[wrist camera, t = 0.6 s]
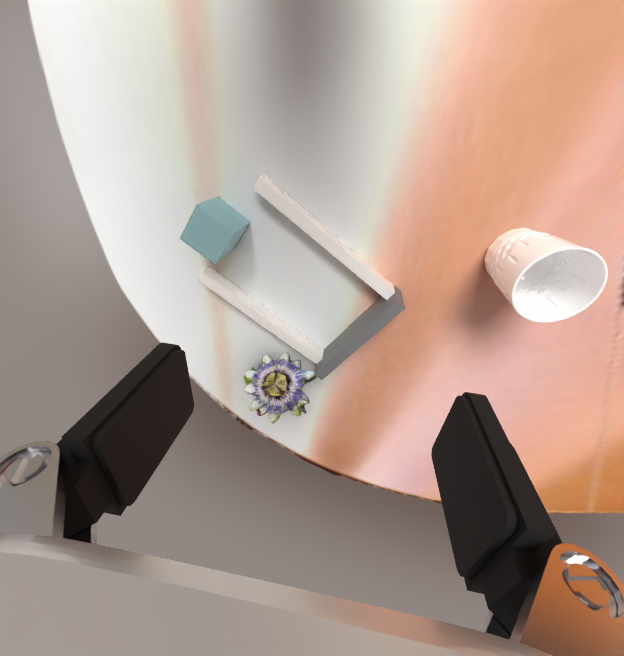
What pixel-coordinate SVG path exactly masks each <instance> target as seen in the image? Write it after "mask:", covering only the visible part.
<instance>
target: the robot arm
mask: <svg viewBox="0 0 624 656" xmlns="http://www.w3.org/2000/svg"><path fill="white" fill-rule="evenodd" d="M193 408H194V402H193V396H192V390H191V385H190V379H189V373H188V367H187V362H186V356H185V352H184V351H183V350H181V348H180V346H178V345H174V344H168V343H160V344H159V345H158V346H156V348H154V349H153V350H152V351H151V352H150V353H149V354H148V355H147V356H146V357H145V358H144V359H143V360H142V361H141V362H140V363H139V364H138V365H137V366H136V367H135V368H133V370H131V371H130V372H129V373H128V374H127V375H126V376H125V377H124V378H123V379H122V380H121V381H120V382H119V383H118V384H117V385H116V386H115V387H114V388H113V389H111V390H110V391H109V392H108V393H107V394H106V395H105V396H104V397H103V398H102V399H101V400H100V401H99V402H98V403H97V404H96V405H95V406H94V407H93V408H91V409H90V411H88V412H87V413H86V414H85V415H84V416H83V417H82V418H81V419H80V420H79V421H78V422H77V423H76V424H75V425H74V426H73V427H72V428H71V429H70V430H68V431H67V433H65V434H64V435H63V436H62V439H61V440H60V441H59V442H58V443H57V444H55V443H53V442H50V441H36V442H31V443H27V444H24V445H22V446H19V447H17V448H15V449H13V450H11V451H10V452H8V453H6V454H4V455H3V456H2V457H1V458H0V656H624V586H623V584H622V583H621V581H620V580H619V578H618V577H617V576H616V575H615V574H614V573H613V572H612V571H611V569H610V568H609V567H608V566H607V565H605V564H604V563H603V562H602V561H601V560H600V559H598V558H597V557H596V556H594V555H593V554H591V553H590V552H588V551H586V550H584V549H583V548H580V547H578V546H575V545H573V544H565V543H562V541H561V539H560V537H559V535H558V533H557V531H556V529H555V527H554V525H553V523H552V521H551V519H550V518H549V515H548V513H547V512H546V510H545V508H544V506H543V504H542V502H541V500H540V498H539V496H538V494H537V492H536V490H535V488H534V486H533V484H532V482H531V480H530V478H529V476H528V474H527V472H526V470H525V468H524V466H523V464H522V462H521V460H520V458H519V456H518V454H517V452H516V451H515V449H514V447H513V446H512V444H510V442H509V440H508V438H507V436H506V434H505V432H504V430H503V428H502V426H501V424H500V423H499V421H498V419H497V417H496V415H495V413H494V411H493V409H492V407H491V405H490V403H489V401H488V399H487V397H486V396H485V395H481V394H474V393H468V392H465V393H463V395H462V396H457V397H456V399H455V401H454V403H453V405H452V407H451V410H450V412H449V414H448V416H447V418H446V420H445V422H444V424H443V426H442V428H441V430H440V433H439V435H438V437H437V439H436V441H435V443H434V445H433V448H432V460H433V465H434V469H435V474H436V478H437V483H438V487H439V492H440V496H441V500H442V505H443V509H444V514H445V518H446V523H447V527H448V532H449V535H450V540H451V545H452V549H453V553H454V558H455V563H456V567H457V570H458V573H459V574H460V576H463V577H464V578H465V583H466V587H467V590H468V591H473V592H477V593H482V594H484V595H485V599H486V602H487V606H488V609H489V612H488V614H487V616H486V618H485V621H484V623H483V625H482V627H481V630H480V631H477V630H473V629H469V628H465V627H461V626H457V625H453V624H449V623H444V622H441V621H437V620H432V619H428V618H425V617H420V616H416V615H412V614H407V613H403V612H398V611H394V610H390V609H386V608H381V607H377V606H372V605H368V604H364V603H359V602H355V601H351V600H346V599H341V598H337V597H333V596H329V595H324V594H320V593H316V592H311V591H307V590H302V589H298V588H293V587H289V586H284V585H280V584H276V583H271V582H267V581H262V580H258V579H253V578H249V577H244V576H240V575H235V574H231V573H226V572H221V571H217V570H213V569H208V568H203V567H199V566H195V565H190V564H185V563H181V562H176V561H172V560H167V559H163V558H158V557H154V556H149V555H144V554H140V553H135V552H131V551H126V550H122V549H116V548H111V547H106V546H101V545H97V521H98V520H99V519H100V517H101V516H102V514H103V513H104V512H105V513H109V514H114V515H119V516H121V514H122V513H123V511H124V510H125V508H126V506H130V505H132V504H133V503H134V502H135V500H136V499H137V497H138V496H139V494H140V492H141V491H142V490H143V488H144V486H145V485H146V483H147V482H148V480H149V479H150V477H151V476H152V474H153V472H154V471H155V469H156V468H157V466H158V465H159V463H160V462H161V460H162V459H163V457H164V456H165V454H166V453H167V451H168V450H169V448H170V446H171V445H172V443H173V442H174V440H175V439H176V437H177V436H178V434H179V433H180V431H181V429H182V428H183V426H184V425H185V423H186V422H187V420H188V419H189V417H190V416H191V414H192V412H193Z"/></svg>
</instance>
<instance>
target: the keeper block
mask: <svg viewBox="0 0 624 656" xmlns="http://www.w3.org/2000/svg"><path fill="white" fill-rule="evenodd" d="M249 223H250V221H248V220H247V219H246V218H245V217H243V216H242V215H241V214H240V213H238V212H237V211H236V210H235V209H233V208H232V207H231V206H230V205H228V204H227V203H226V202H225V201H223V200H222V199H221V198H220V197H216V198H213V199H210V200H208V201H205V202H202V203H200V204H197V205H196V207H195V209H194V211H193V213H192V215H191V217H190V219H189V221H188V223H187V225H186V227H185V229H184V231H183V233H182V235H181V237H180V239H181V240H182V241H184V242H185V243H186V244H188V245H189V246H190V247H192V248H193V249H195V250H196V251H197V252H199V253H200V254H201V255H203V256H204V257H205V258H207V259H208V260H210V261H211V262H212V263H214V264H216V263H218V262H219V261H220V260H221V259H222V258H224V257H225V256H226V255H227V254H228V253H230V252H231V251H232V250H233V249H234V247H235V246H236V244H237V242H238V241H239V239H240V238H241V236H242V234H243V233H244V231H245V230H246V228H247V226H248V225H249Z"/></svg>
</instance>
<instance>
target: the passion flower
mask: <svg viewBox="0 0 624 656" xmlns="http://www.w3.org/2000/svg"><path fill="white" fill-rule="evenodd" d="M259 365H260V364H259ZM259 367H260V368H259V369H258V370H257V371H255V370H254V368H253V367H252V369H251V370H248V371H246V372H245V376H244V380H245V383H246V384H247V385H246V386H245V387H244V390H245V392H247V393H248V394H252V395H255V396H256V399H255V400H254V401H253V403H252V404H251V405H250V406H249V410H250V411H252V410H256V411H257V415H259V416H261V412H260V410H259V409H260V408H262V407H264V406H265V405H266V407H268V409H267V411H266V412H265V413H267V412H269V419H270V421H271V422H272V423H274V422H276V421H277V420H278V418H279V417H280V415H281V414H282V413H284V412H286V411H288V410H290V411H291V410H292V411H291V412H292V413H293V414H294V415H296V416H300V415H301V412H302V411H303V412H304V413H305V414H306V410H305V408H304V406H305V404H307V403H309V399H308V397H307V396H306V395H305V394H304V393H303V392H302V391H301V389H302V387H303V385H304V384H305V383H307V382H311V381H312V380H314V379H315V378H316V376H315V375H314V373H315V372H314V371H305V372H303V371H302V370H300V367H301V362H300V360H296V361H295V362H292V361H291V360H290V355H289V353H288V352H286V353H283V354H282V355H281V357H280V358H279V360H276V361H273V360H272V358H271V357H270V356H268V355H265V356H264V357H263V359H262V366H261V365H260V366H259ZM294 406H297V410H296V411H295V410H293V408H294ZM266 407H265V408H266ZM300 408H301V409H300ZM265 413H264V414H265ZM264 414H262V415H264Z"/></svg>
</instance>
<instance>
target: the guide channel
mask: <svg viewBox="0 0 624 656" xmlns="http://www.w3.org/2000/svg"><path fill="white" fill-rule="evenodd" d="M252 188H253V189H254V190H255V191H256V192H257V193H259V194H260V195H261V196H262V197H263V198H265V199H266V200H267V201H268V202H269V203H271V204H272V205H273V206H274V207H275V208H277V209H278V210H279V211H280V212H281V213H283V214H284V215H285V216H286V217H287V218H289V219H290V220H291V221H292V222H293V223H295V224H296V225H297V226H298V227H299V228H301V229H302V230H303V231H304V232H305V233H307V234H308V235H309V236H310V237H311V238H313V239H314V240H315V241H316V242H317V243H319V244H320V245H321V246H322V247H323V248H325V249H326V250H327V251H328V252H329V253H331V254H332V255H333V256H334V257H335V258H337V259H338V260H339V261H340V262H341V263H343V264H344V265H345V266H346V267H347V268H349V269H350V270H351V271H352V272H353V273H355V274H356V275H357V276H358V277H359V278H361V279H362V280H363V281H364V282H365V283H367V284H368V285H369V286H370V287H371V288H373V289H374V290H375V291H376V292H377V293H379V294H380V295H381V297H380V298H379V299H378V300H377V301H376V302H375V303H374V304H373V305H371V306H370V307H369V308H368V309H367V310H366V311H365V312H364V313H363V314H362V315H361V316H360V317H359V318H357V319H356V320H355V321H354V322H353V323H352V324H351V325H350V326H349V327H348V328H347V329H346V330H345V331H344V332H342V333H341V334H340V335H339V336H338V337H337V338H336V339H335V340H334V341H333V342H332V343H331V344H330V345H328V346H327V347H326V348H325V349H324V350H323V349H322V348H321V347H319V346H318V345H316V344H315V343H314V342H312V341H311V340H310V339H308V338H307V337H306V336H304V335H303V334H301V333H300V332H299V331H297V330H296V329H295V328H293V327H292V326H290V325H289V324H288V323H286V322H285V321H284V320H282V319H281V318H279V317H278V316H277V315H275V314H274V313H273V312H271V311H270V310H269V309H267V308H266V307H264V306H263V305H262V304H260V303H259V302H258V301H256V300H255V299H253V298H252V297H251V296H249V295H248V294H247V293H245V292H244V291H242V290H241V289H240V288H238V287H237V286H236V285H234V284H233V283H232V282H230V281H229V280H227V279H226V278H225V277H223V276H222V275H221V274H219V273H218V272H216V271H215V270H214V269H212V268H211V267H208V268H207V269H206V270H205V271H203V272H202V273H201V275H200V277H199V279H198V281H199V282H201V283H202V284H204V285H205V286H206V287H208V288H209V289H211V290H212V291H214V292H215V293H216V294H218V295H219V296H221V297H222V298H223V299H225V300H226V301H228V302H229V303H230V304H232V305H233V306H235V307H236V308H237V309H239V310H240V311H242V312H243V313H245V314H246V315H247V316H249V317H250V318H252V319H253V320H254V321H256V322H257V323H259V324H260V325H261V326H263V327H264V328H266V329H267V330H268V331H270V332H271V333H273V334H274V335H276V336H277V337H278V338H280V339H281V340H283V341H284V342H285V343H287V344H288V345H290V346H291V347H292V348H294V349H295V350H297V351H298V352H299V353H301V354H302V355H304V356H305V357H307V358H308V359H309V360H311V361H312V362H314V363H315V364H316V368H315V373H314V375H315V376H317V377H318V378H320V379H321V380H322V379H323V378H324V377H326V376H327V375H328V374H329V373H330V372H331V371H333V370H334V369H335V368H336V367H337V366H338V365H340V364H341V363H342V362H343V361H344V360H345V359H347V358H348V357H349V356H350V355H351V354H352V353H354V352H355V351H356V350H357V349H358V348H359V347H361V346H362V345H363V344H364V343H365V342H367V341H368V340H369V339H370V338H371V337H372V336H374V335H375V334H376V333H377V332H378V331H379V330H381V329H382V328H383V327H384V326H385V325H386V324H388V323H389V322H390V321H391V320H392V319H393V318H395V317H396V316H397V315H398V314H399V313H400V312H402V311H403V310H404V309H405V305H404V301H403V297H402V294H401V291H400V290H399V289H397V288H396V287H395V286H394V285H393V284H392V283H390V282H389V281H388V280H387V279H386V278H385V277H383V276H382V275H381V274H380V273H379V272H378V271H376V270H375V269H374V268H373V267H372V266H370V265H369V264H368V263H367V262H366V261H365V260H363V259H362V258H361V257H360V256H359V255H358V254H356V253H355V252H354V251H353V250H352V249H351V248H349V247H348V246H347V245H346V244H345V243H344V242H342V241H341V240H340V239H339V238H338V237H337V236H335V235H334V234H333V233H332V232H331V231H330V230H328V229H327V228H326V227H325V226H324V225H323V224H321V223H320V222H319V221H318V220H317V219H316V218H314V217H313V216H312V215H311V214H310V213H309V212H307V211H306V210H305V209H304V208H303V207H302V206H300V205H299V204H298V203H297V202H296V201H295V200H293V199H292V198H291V197H290V196H289V195H288V194H286V193H285V192H284V191H283V190H282V189H281V188H279V187H278V186H277V185H276V184H275V183H274V182H272V181H271V180H270V179H269V178H268V177H267V176H265V175H263V176H260V177H258V179H257V180H256V182H255V184H254V185H253V187H252Z"/></svg>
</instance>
